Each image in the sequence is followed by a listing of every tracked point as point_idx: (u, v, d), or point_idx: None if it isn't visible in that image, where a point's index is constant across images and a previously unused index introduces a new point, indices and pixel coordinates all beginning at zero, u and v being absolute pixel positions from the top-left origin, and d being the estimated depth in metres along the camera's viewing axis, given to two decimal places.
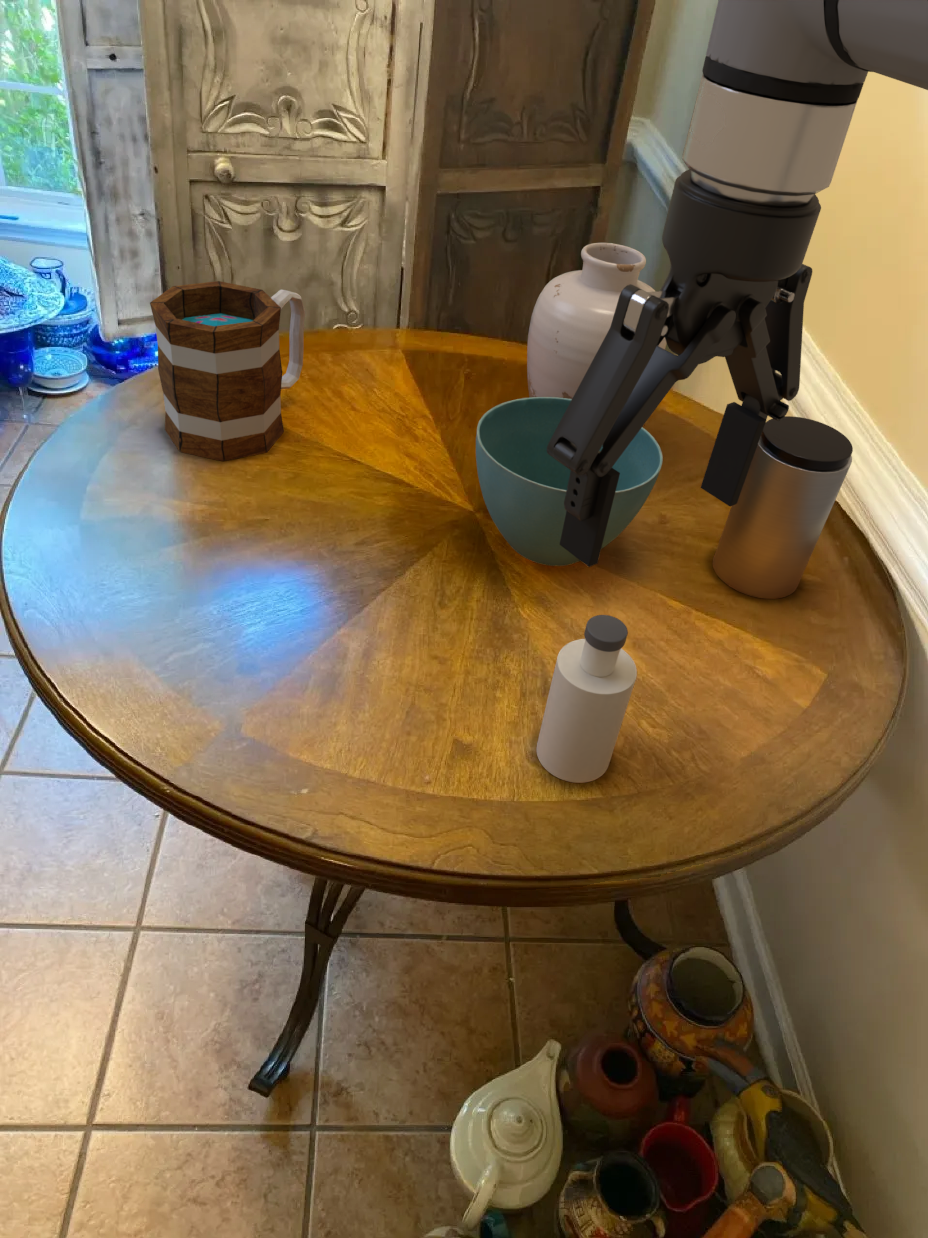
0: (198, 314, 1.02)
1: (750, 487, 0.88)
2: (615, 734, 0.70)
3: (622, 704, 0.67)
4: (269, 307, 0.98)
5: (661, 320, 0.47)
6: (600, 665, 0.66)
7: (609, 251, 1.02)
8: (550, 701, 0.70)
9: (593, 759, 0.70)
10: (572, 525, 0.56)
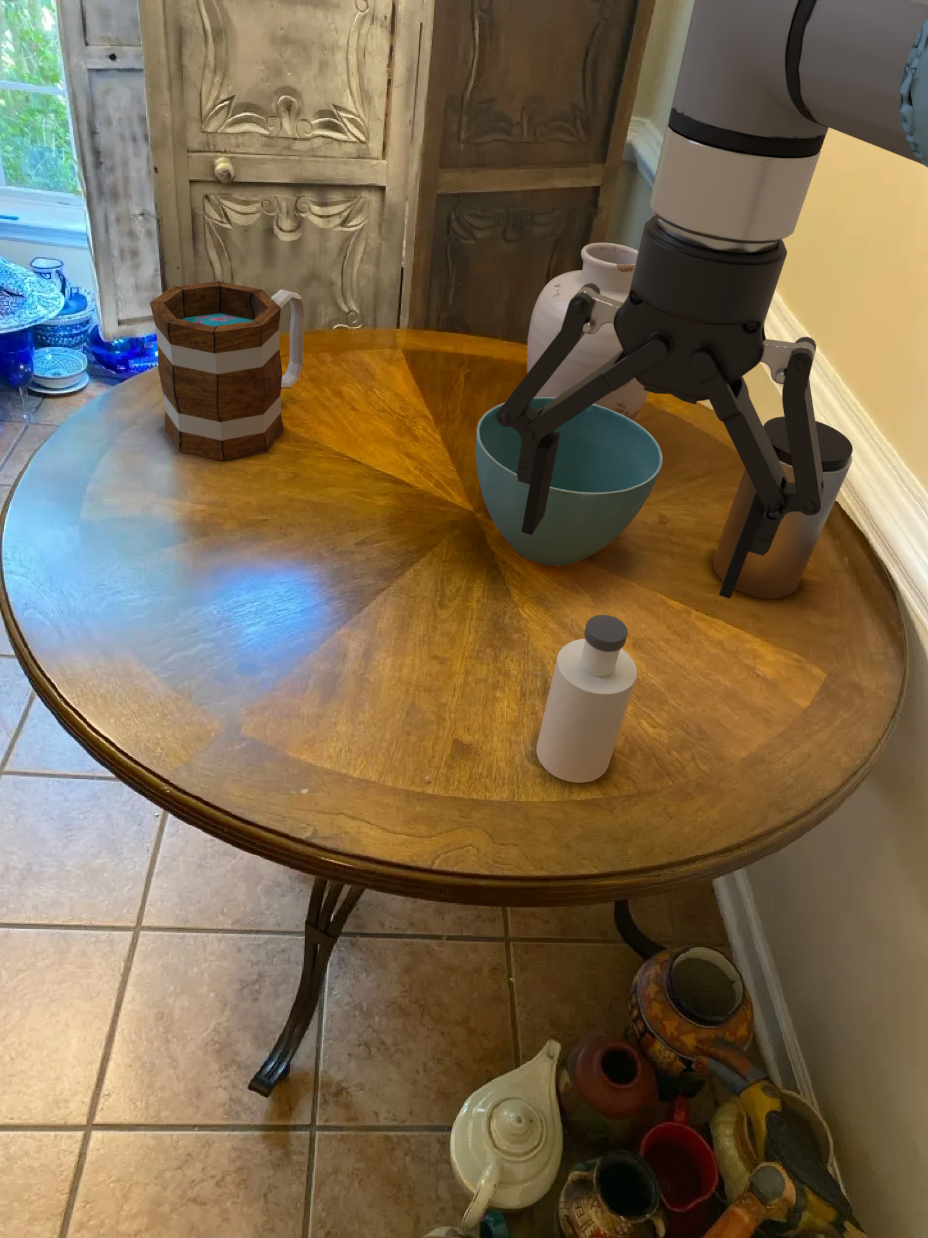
0: (198, 314, 1.02)
1: (750, 487, 0.88)
2: (615, 734, 0.70)
3: (622, 704, 0.67)
4: (269, 307, 0.98)
5: (580, 315, 0.52)
6: (600, 665, 0.66)
7: (609, 251, 1.02)
8: (550, 701, 0.70)
9: (593, 759, 0.70)
10: None
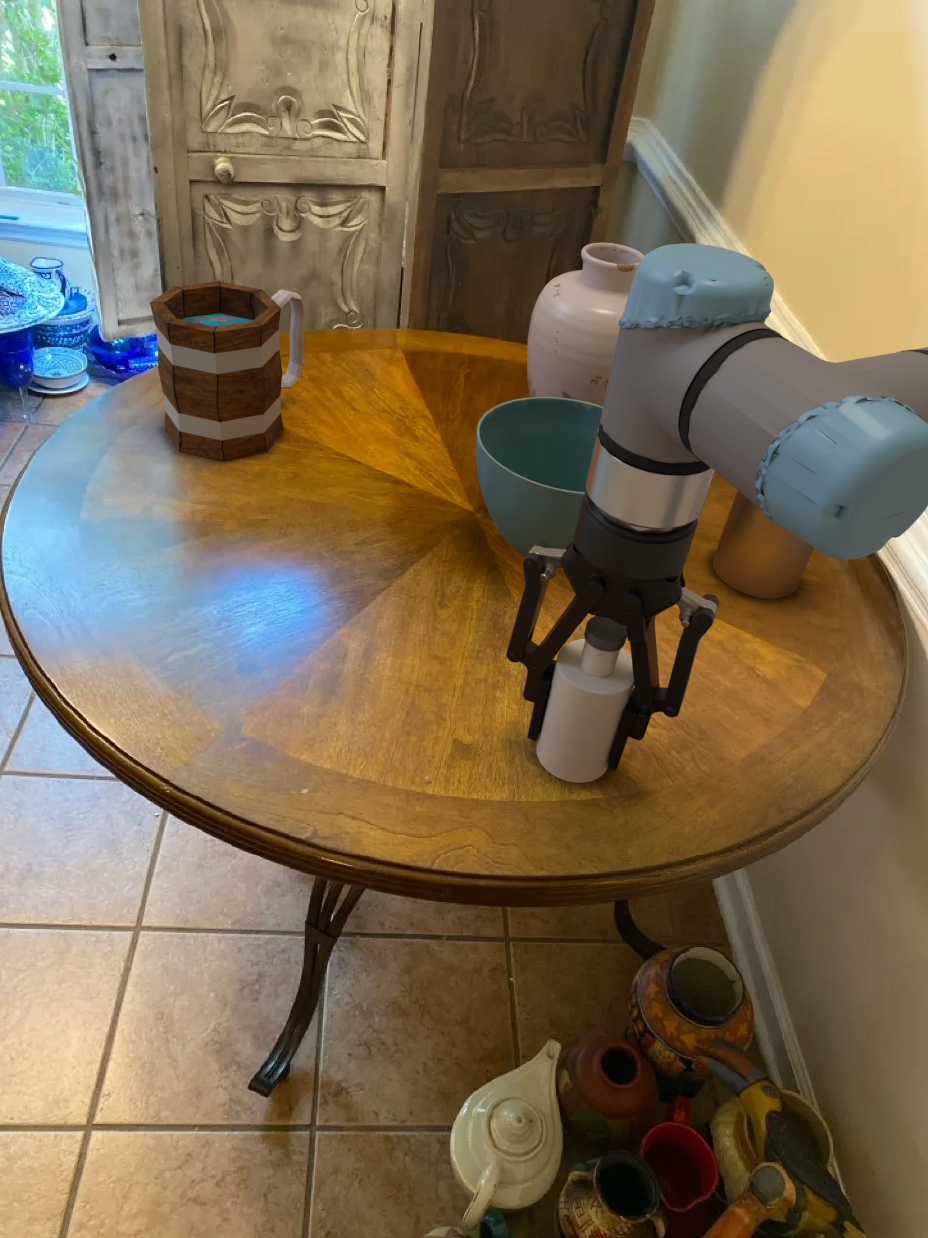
0: (198, 314, 1.02)
1: None
2: (615, 734, 0.70)
3: (622, 704, 0.67)
4: (269, 307, 0.98)
5: (534, 570, 0.63)
6: (600, 665, 0.66)
7: (609, 251, 1.02)
8: (550, 701, 0.70)
9: (593, 759, 0.70)
10: None
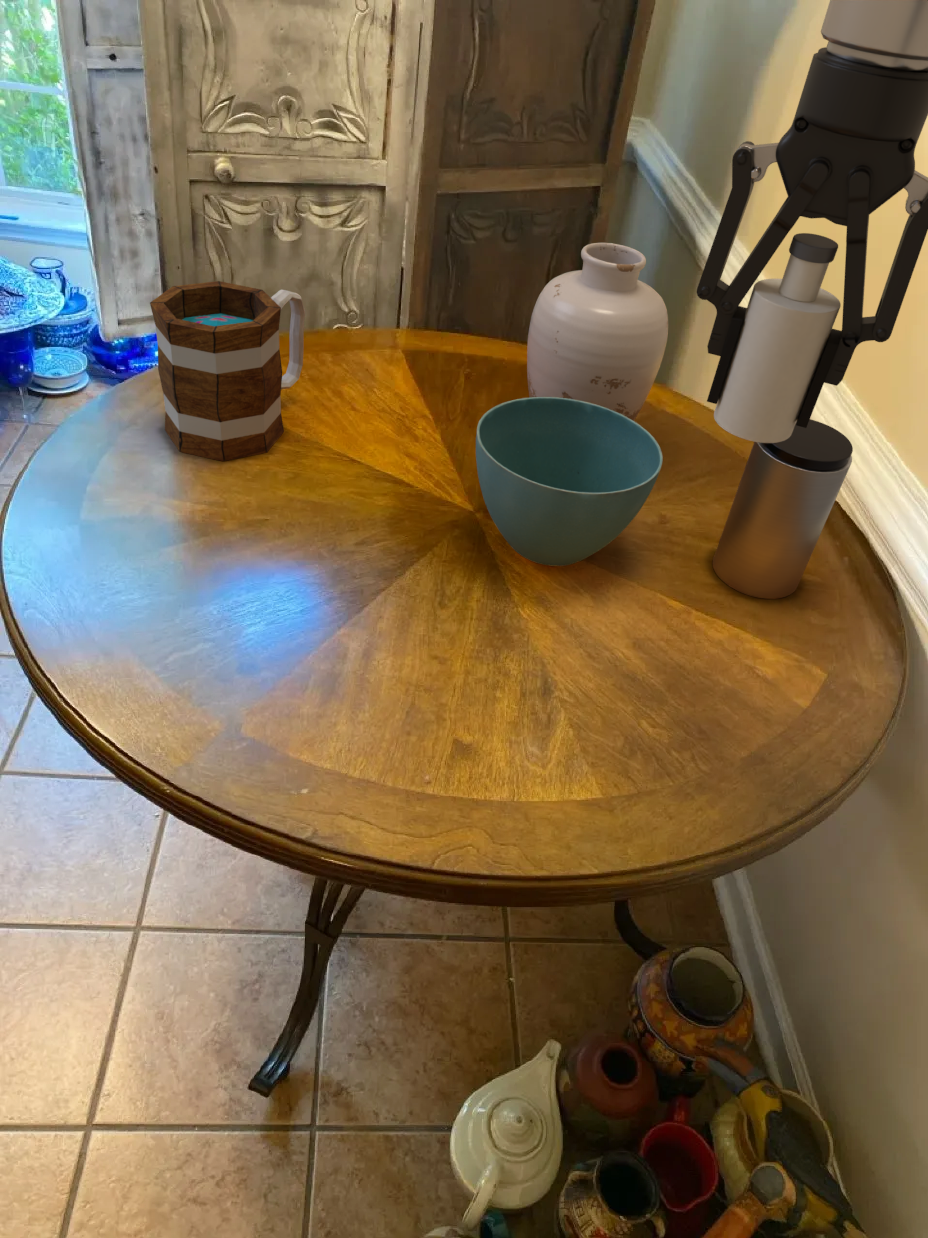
0: (198, 314, 1.02)
1: (750, 487, 0.88)
2: (810, 379, 0.66)
3: (826, 333, 0.63)
4: (269, 307, 0.98)
5: (746, 165, 0.59)
6: (806, 284, 0.62)
7: (609, 251, 1.02)
8: (742, 343, 0.65)
9: (785, 408, 0.66)
10: None
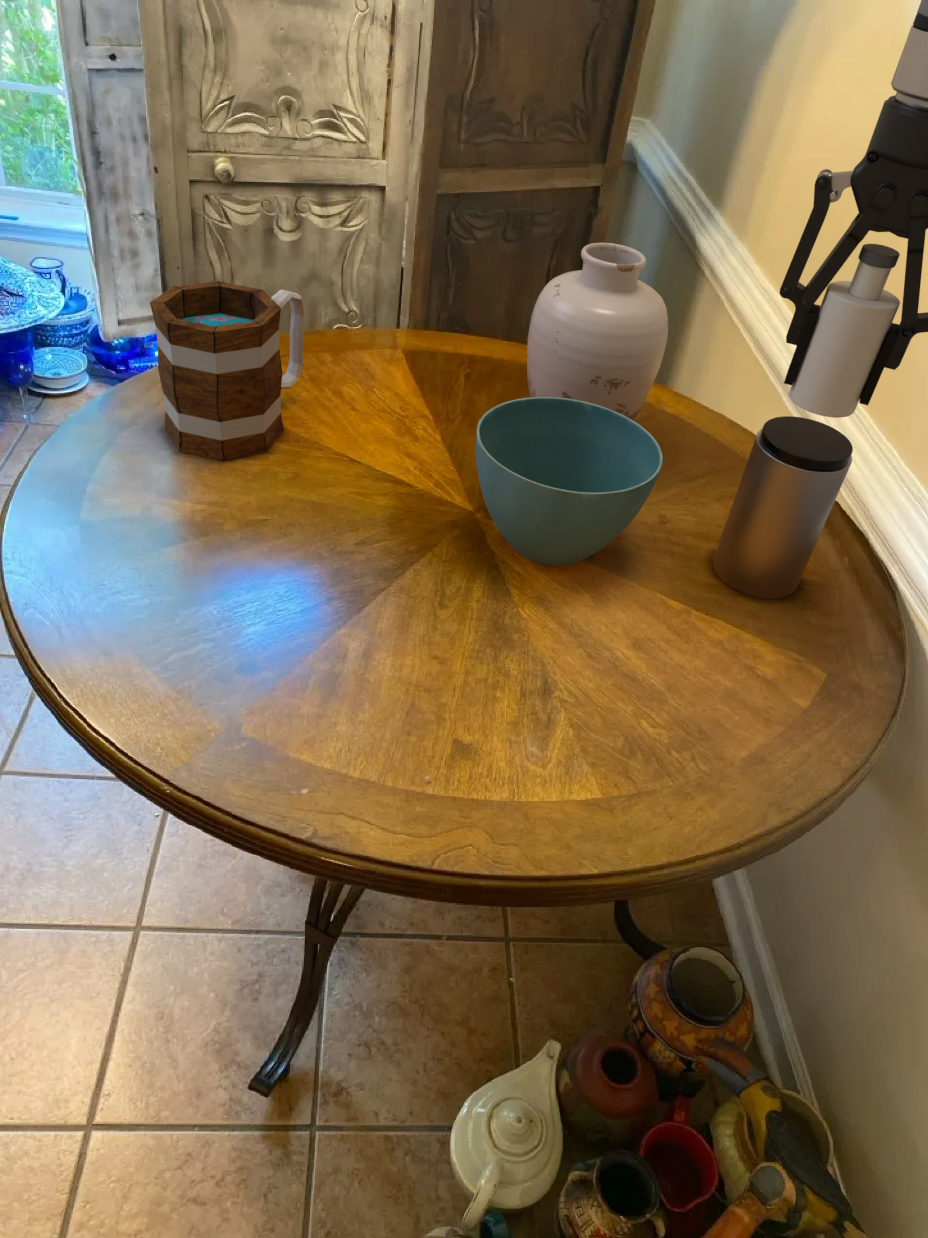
0: (198, 314, 1.02)
1: (750, 487, 0.88)
2: (873, 364, 0.79)
3: (887, 325, 0.77)
4: (269, 307, 0.98)
5: (825, 189, 0.73)
6: (872, 285, 0.76)
7: (609, 251, 1.02)
8: (816, 334, 0.79)
9: (851, 388, 0.80)
10: (793, 355, 0.83)
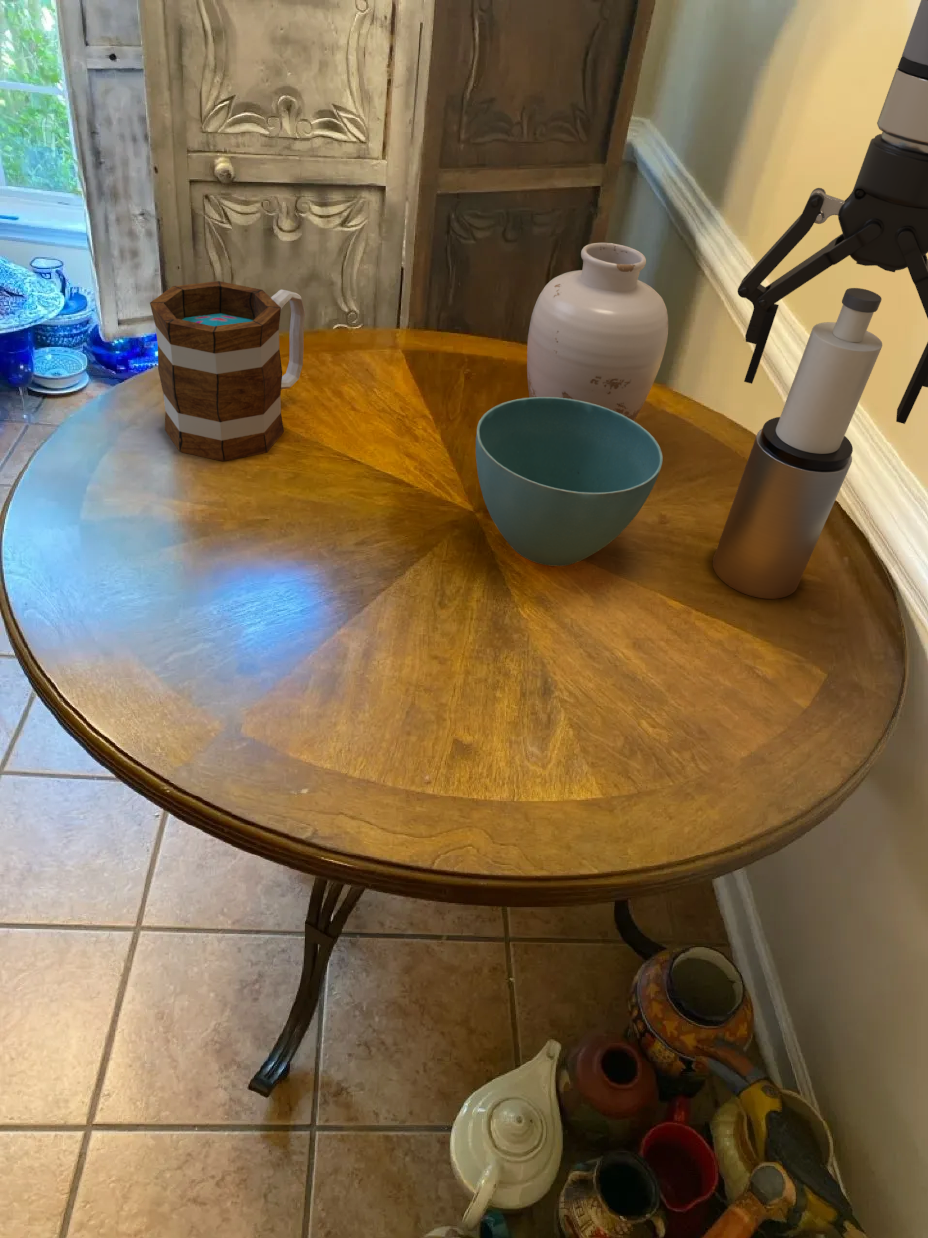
0: (198, 314, 1.02)
1: (750, 487, 0.88)
2: (856, 403, 0.82)
3: (870, 367, 0.79)
4: (269, 307, 0.98)
5: (816, 208, 0.74)
6: (855, 329, 0.78)
7: (609, 251, 1.02)
8: (802, 374, 0.81)
9: (836, 426, 0.82)
10: None
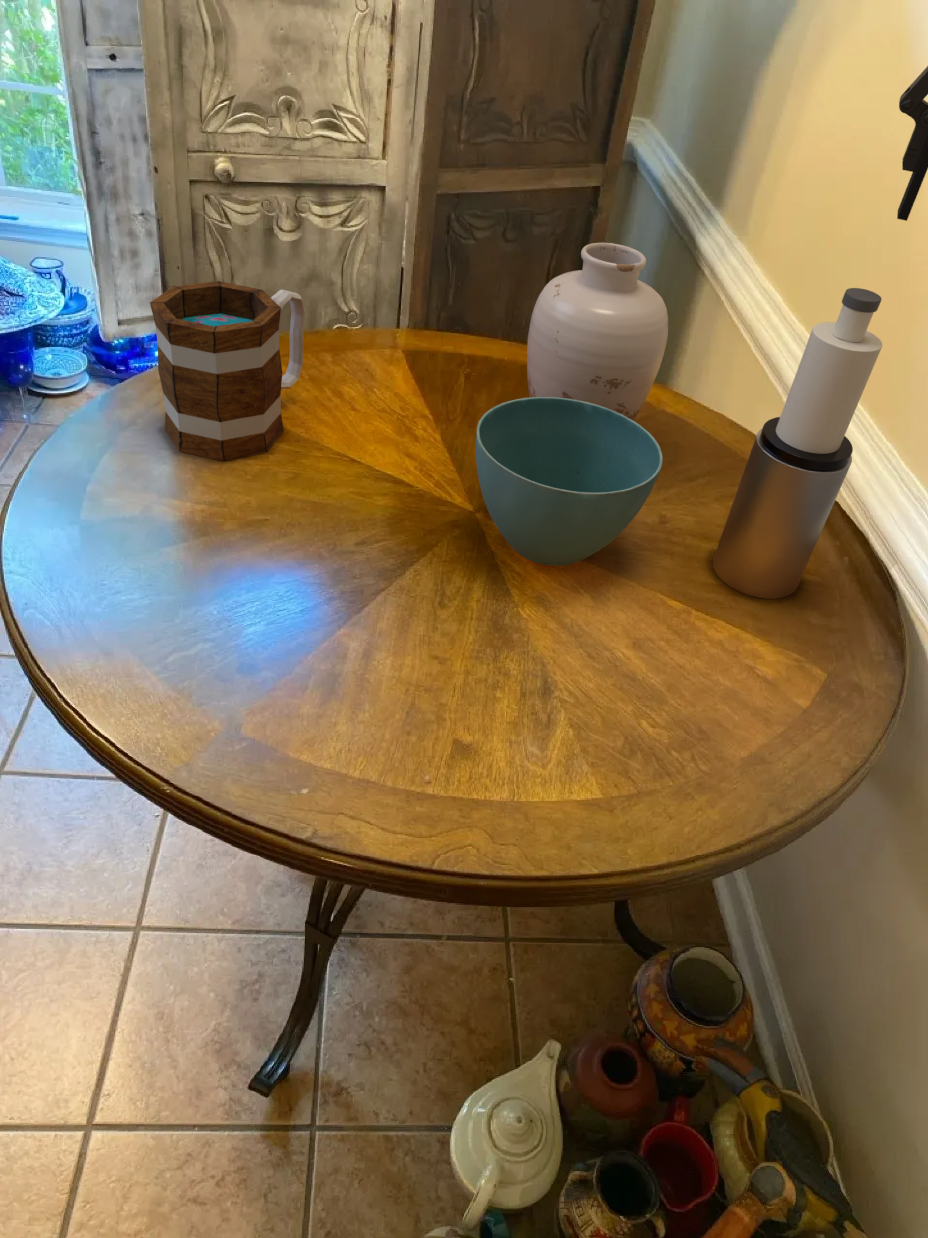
0: (198, 314, 1.02)
1: (750, 487, 0.88)
2: (856, 403, 0.82)
3: (870, 367, 0.79)
4: (269, 307, 0.98)
5: None
6: (855, 329, 0.78)
7: (609, 251, 1.02)
8: (802, 374, 0.81)
9: (836, 426, 0.82)
10: (907, 188, 0.74)
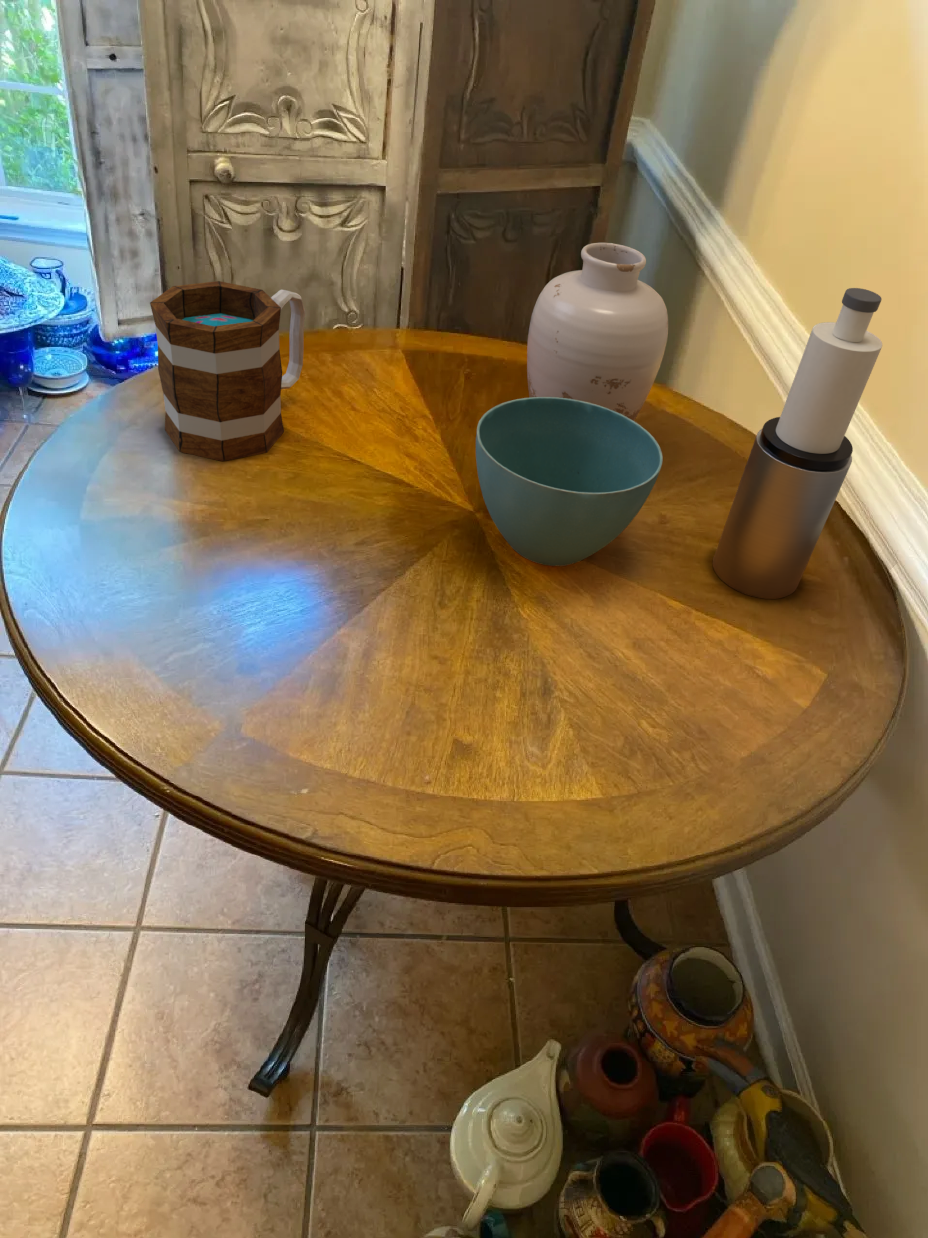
0: (198, 314, 1.02)
1: (750, 487, 0.88)
2: (856, 403, 0.82)
3: (870, 367, 0.79)
4: (269, 307, 0.98)
5: None
6: (855, 329, 0.78)
7: (609, 251, 1.02)
8: (802, 374, 0.81)
9: (836, 426, 0.82)
10: None
